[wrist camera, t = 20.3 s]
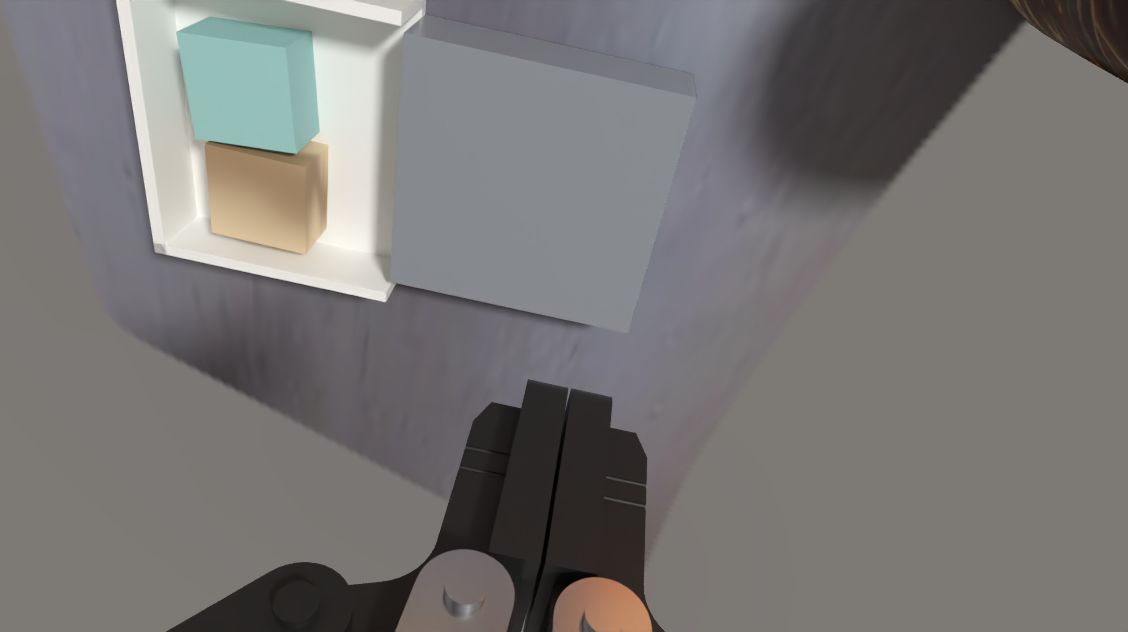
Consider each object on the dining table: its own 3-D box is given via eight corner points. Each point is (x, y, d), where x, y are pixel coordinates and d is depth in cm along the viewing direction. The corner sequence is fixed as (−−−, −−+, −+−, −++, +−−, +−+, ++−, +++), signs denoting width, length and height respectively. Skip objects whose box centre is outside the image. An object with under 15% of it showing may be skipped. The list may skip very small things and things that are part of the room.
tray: (160, -67, 34) (107, -54, 31) (426, -8, 34) (401, 11, 31) (193, 218, 43) (155, 252, 40) (406, 264, 43) (385, 302, 40)
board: (425, 14, 35) (403, 32, 32) (694, 74, 35) (696, 97, 32) (407, 249, 42) (389, 281, 40) (630, 298, 43) (627, 333, 40)
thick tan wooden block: (305, 167, 36) (328, 144, 39) (204, 143, 36) (233, 122, 39) (305, 254, 39) (326, 228, 42) (211, 232, 39) (238, 207, 41)
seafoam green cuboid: (285, 47, 33) (311, 31, 36) (175, 31, 33) (209, 16, 36) (296, 153, 36) (319, 131, 38) (195, 138, 36) (224, 117, 38)
